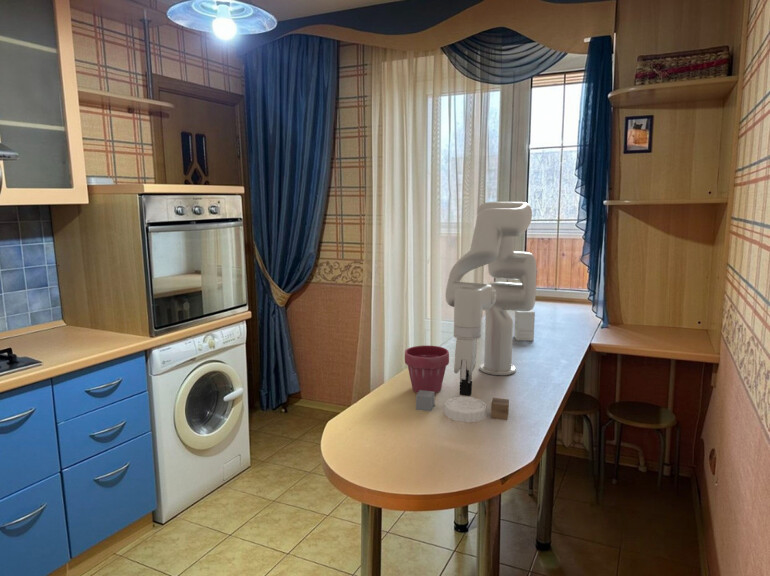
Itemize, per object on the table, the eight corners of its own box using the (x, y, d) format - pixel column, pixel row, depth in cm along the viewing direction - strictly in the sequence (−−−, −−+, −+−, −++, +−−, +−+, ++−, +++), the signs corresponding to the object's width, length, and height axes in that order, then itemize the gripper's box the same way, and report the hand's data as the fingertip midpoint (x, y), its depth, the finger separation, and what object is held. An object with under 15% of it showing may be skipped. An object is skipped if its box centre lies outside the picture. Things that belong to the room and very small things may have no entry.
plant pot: (397, 384, 179) (397, 347, 177) (436, 379, 184) (436, 343, 182) (415, 400, 166) (415, 359, 164) (456, 394, 171) (457, 354, 169)
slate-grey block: (419, 404, 163) (419, 390, 162) (434, 406, 161) (434, 391, 161) (415, 410, 158) (416, 395, 158) (431, 411, 157) (431, 397, 156)
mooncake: (458, 403, 164) (458, 391, 163) (494, 413, 156) (494, 401, 156) (436, 415, 155) (436, 403, 154) (473, 427, 147) (473, 414, 147)
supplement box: (531, 336, 239) (532, 308, 237) (533, 341, 232) (535, 312, 229) (513, 336, 240) (515, 308, 237) (516, 340, 232) (517, 311, 230)
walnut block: (492, 412, 157) (492, 397, 156) (508, 414, 155) (509, 399, 154) (490, 418, 152) (491, 403, 152) (507, 420, 151) (507, 405, 150)
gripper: (458, 325, 159) (456, 385, 162) (449, 336, 145) (447, 402, 148) (484, 326, 157) (482, 387, 160) (477, 338, 143) (475, 405, 146)
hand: (465, 394), depth 154 cm, fingers closed
